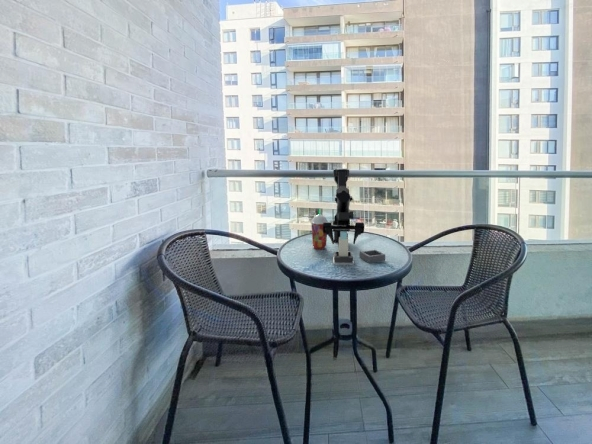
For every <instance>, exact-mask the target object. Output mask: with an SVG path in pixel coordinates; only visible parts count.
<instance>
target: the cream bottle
mask: <svg viewBox="0 0 592 444" xmlns="http://www.w3.org/2000/svg"><path fill="white" fill-rule="evenodd" d="M347 233H348V231H340V237H339V243H338V252H339V256H348V252H349V236H348V237H347Z"/></svg>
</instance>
